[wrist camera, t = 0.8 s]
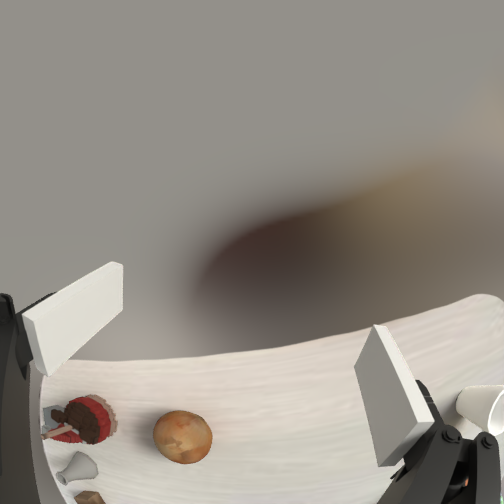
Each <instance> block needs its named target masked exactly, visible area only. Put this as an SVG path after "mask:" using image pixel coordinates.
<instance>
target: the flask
mask: <svg viewBox="0 0 504 504" xmlns="http://www.w3.org/2000/svg"><path fill="white" fill-rule="evenodd" d="M97 475H98V470H97V464H96V463H95V462H94V461H93V460H92V459H91V458H90V457H89V456H88V455H86V454H84V453H81V452H79V451H78V452H77V453H76V454H75V456H74V457H73V459H72V460H71V462H70V464H69V465H68V467H67V468H66V469H65V470H63V471H62V472H57V473H56V477H57V479H58V480H59V481H60V483H62V484H63V485H65V486H66V485H67V484H68V482H70V481H74V480H82V479H94V478H95V477H96V476H97Z"/></svg>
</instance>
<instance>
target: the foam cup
mask: <svg viewBox="0 0 504 504" xmlns="http://www.w3.org/2000/svg"><path fill="white" fill-rule="evenodd" d="M456 411H457V413H459V414H460V415H462V416H463V417H465V418H466V419H468V420H469V421H471V422H472V423H474V424H475V425H477V426H478V427H480V428H481V429H482V431H484V432H488V433H491V434H492V435H493V436H495V435H498V434H501V433H502V432H503V431H504V384H503V385H494V386H469V387H466V388H465V389H463V390H462V391H461V393H460V394H459V395H458V398H457V401H456Z"/></svg>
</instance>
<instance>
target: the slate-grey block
mask: <svg viewBox="0 0 504 504" xmlns="http://www.w3.org/2000/svg"><path fill="white" fill-rule="evenodd" d="M53 409H56V410H61V411H62V412H64V408H62V407H60V406H58V405H55V406H51V407H47V408H43V411H44V420H45V425H46V426H47V425H48V426H49V427H51V428H52V429H55V428H57V426H58V425H59V424H60V423H57V422H56V421H54V420H53V419H52V418H51V410H53Z"/></svg>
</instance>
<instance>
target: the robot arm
mask: <svg viewBox="0 0 504 504" xmlns="http://www.w3.org/2000/svg"><path fill="white" fill-rule="evenodd" d="M122 289H123V265H122V264H119V263H116V262H112V261H111V262H110V263H108V264H106V265H104V266H102V267H100V268H99V269H97V270H95V271H93V272H91V273H90V274H88V275H86V276H84V277H83V278H81V279H79V280H77V281H76V282H74V283H72V284H70V285H69V286H67V287H65V288H64V289H62V290H60V291H58V292H54V293H51V294H48V295H46V296H45V297H43V298H41V300H38V301H36V302H35V303H33V304H31V305H30V306H28V307H26V308H25V309H23V310H22V311H20V312H18V313H17V314H15V309H14V305H13V299H12V297H11V296H10V295H8V294H3V293H1V294H0V504H40V499H39V495H38V490H37V485H36V480H35V473H34V467H33V459H32V450H31V440H30V421H29V386H30V384H29V383H30V365H29V362H30V361H31V360H33V359H34V362H35V366H36V369H37V370H38V371H40V372H41V373H43V374H44V375H46V376H47V377H50V376H51V375H52V374H53V373H54V372H55V371H56V370H57V369H58V368H59V367H60V366H61V365H62V364H63V363H64V362H65V361H67V360H68V359H69V358H70V357H71V356H72V355H73V354H74V353H75V352H76V351H77V350H78V349H79V348H80V347H82V346H83V345H84V344H85V343H86V342H87V341H88V340H89V339H90V338H92V337H93V336H94V335H95V334H96V333H97V332H98V331H99V330H100V329H102V328H103V327H104V326H105V325H106V324H107V323H108V322H109V321H111V320H112V319H113V318H114V317H115V316H116V315H117V314H118V313H120V312H121V311H122V310H123V297H122V296H123V290H122ZM354 368H355V372H356V375H357V379H358V383H359V386H360V390H361V394H362V398H363V402H364V406H365V410H366V414H367V418H368V422H369V426H370V431H371V435H372V439H373V444H374V449H375V453H376V458H377V463H378V467H384V466H395V465H396V464H397V463H398V462H399V461H400V460H401V459H402V458H403V459H404V462H405V465H404V466H402V467H401V468H400V469H399V470H398V471H397V472H396V473H395V474H394V475H393V476H392V477H391V478H390V479H393V478H394V477H395V478H394V480H393V481H392V483H391V484H390V486H389V487H388V489H387V490H386V491H385V493H384V494H383V496H382V497H381V499H380V500H379V501H378V503H377V504H501V474H500V457H499V447H498V442H497V440H496V438H495V437H494V436H493V435H492V434H491V433H488V432H481V433H479V434H478V435H477V436H476V438H475V439H474V440H470V439H464V438H462V436H461V433H460V432H459V431H458V430H457V429H456V428H454V427H453V426H450V425H445V424H444V422H443V420H442V418H441V416H440V414H439V412H438V410H437V408H436V406H435V404H433V400H432V398H431V397H430V394H429V392H428V390H427V388H426V387H425V386H424V385H423V384H422V383H421V381H420V380H415V379H414V377H413V375H412V373H411V371H410V369H409V367H408V365H407V363H406V362H405V360H404V358H403V356H402V354H401V352H400V350H399V348H398V347H397V345H396V343H395V341H394V339H393V338H392V336H391V334H390V332H389V330H388V329H387V327H385V326H380V325H373V327H372V329H371V332H370V334H369V336H368V338H367V341H366V343H365V345H364V347H363V349H362V352H361V354H360V356H359V358H358V360H357V362H356V364H355V366H354ZM467 479H468V484H467V485H465V483H466V480H467Z"/></svg>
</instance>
